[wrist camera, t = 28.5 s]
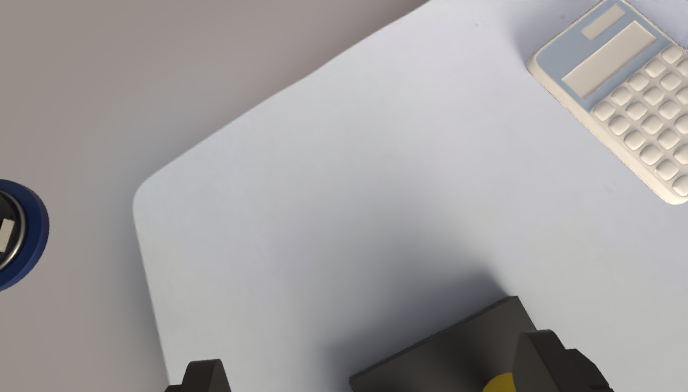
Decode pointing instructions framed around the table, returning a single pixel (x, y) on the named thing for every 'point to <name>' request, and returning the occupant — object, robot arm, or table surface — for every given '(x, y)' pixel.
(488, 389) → the lemon
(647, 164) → the calculator
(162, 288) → the table surface
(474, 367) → the scale
